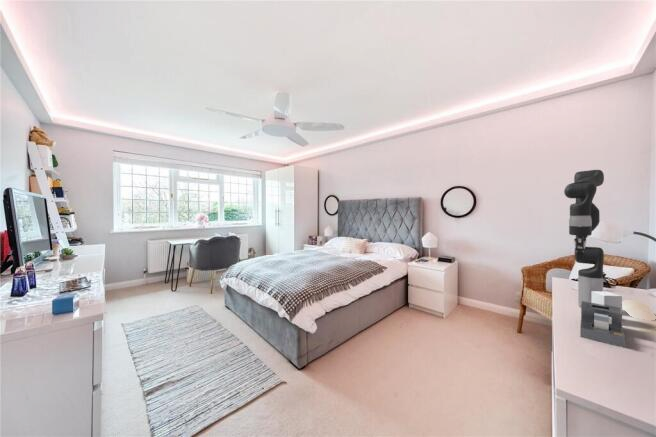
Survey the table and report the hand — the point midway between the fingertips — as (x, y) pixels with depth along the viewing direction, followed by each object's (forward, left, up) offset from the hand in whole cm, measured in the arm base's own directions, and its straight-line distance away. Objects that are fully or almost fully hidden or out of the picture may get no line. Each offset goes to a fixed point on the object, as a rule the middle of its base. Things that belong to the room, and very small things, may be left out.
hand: (580, 258), depth 117 cm
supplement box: (-14, +4, -30) cm, 34 cm away
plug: (+11, +11, -29) cm, 33 cm away
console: (+6, +9, -30) cm, 32 cm away
